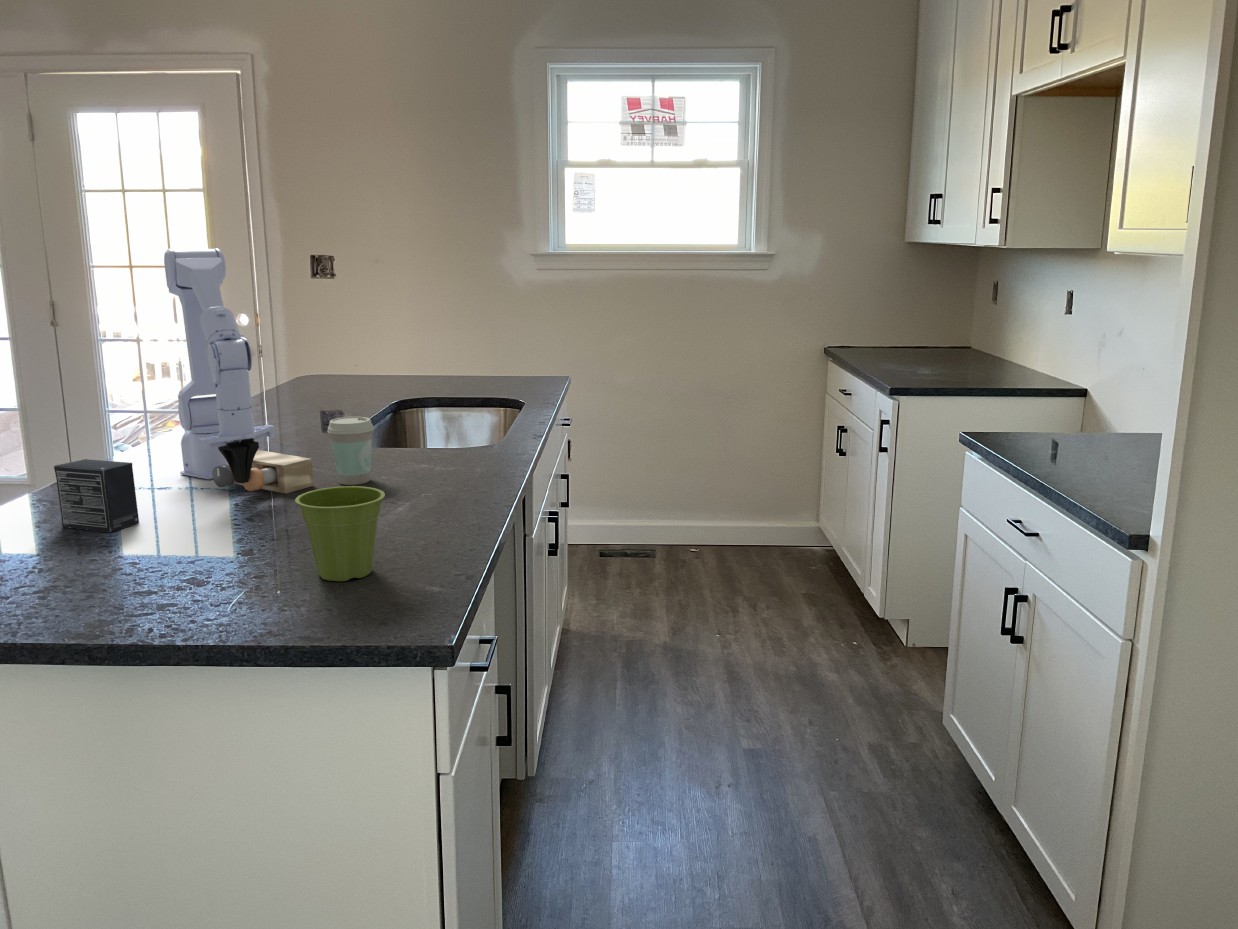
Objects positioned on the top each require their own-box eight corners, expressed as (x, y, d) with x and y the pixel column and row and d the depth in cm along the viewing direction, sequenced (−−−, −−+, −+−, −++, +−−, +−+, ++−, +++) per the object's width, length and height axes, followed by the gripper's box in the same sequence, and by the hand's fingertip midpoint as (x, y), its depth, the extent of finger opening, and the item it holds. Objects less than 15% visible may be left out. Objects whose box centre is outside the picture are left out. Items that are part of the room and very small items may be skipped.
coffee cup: (365, 487, 182) (360, 424, 179) (323, 485, 184) (318, 423, 181) (384, 476, 190) (380, 416, 187) (344, 475, 192) (340, 415, 189)
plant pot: (389, 584, 131) (384, 504, 128) (297, 591, 128) (290, 510, 126) (390, 557, 142) (385, 482, 140) (306, 563, 140) (299, 487, 137)
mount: (233, 483, 186) (230, 456, 185) (261, 476, 191) (259, 450, 190) (285, 493, 178) (283, 465, 177) (313, 485, 183) (311, 458, 182)
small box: (142, 522, 161) (134, 461, 158) (110, 534, 155) (102, 470, 152) (93, 517, 164) (85, 457, 162) (60, 528, 158) (51, 465, 156)
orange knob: (256, 492, 175) (254, 471, 174) (241, 489, 177) (239, 468, 176) (287, 484, 181) (285, 463, 180) (273, 481, 183) (271, 461, 182)
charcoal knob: (226, 489, 178) (224, 467, 177) (212, 486, 180) (210, 465, 179) (258, 481, 183) (256, 460, 183) (244, 478, 186) (242, 458, 185)
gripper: (213, 416, 163) (221, 493, 166) (283, 403, 175) (289, 476, 178) (187, 412, 167) (195, 488, 170) (257, 400, 179) (264, 471, 182)
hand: (242, 482), depth 175 cm, fingers closed
